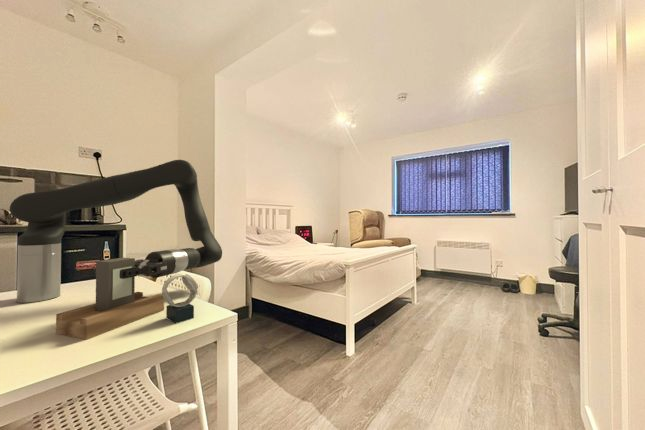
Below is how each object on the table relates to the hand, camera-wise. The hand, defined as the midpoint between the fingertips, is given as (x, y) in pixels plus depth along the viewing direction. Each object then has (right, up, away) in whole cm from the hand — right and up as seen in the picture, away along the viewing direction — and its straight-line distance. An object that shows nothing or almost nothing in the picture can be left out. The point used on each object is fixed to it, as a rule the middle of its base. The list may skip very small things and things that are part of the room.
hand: (108, 273), depth 61 cm
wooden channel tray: (+1, -12, +2) cm, 12 cm away
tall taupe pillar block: (0, -9, +2) cm, 9 cm away
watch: (+16, -12, +3) cm, 20 cm away
